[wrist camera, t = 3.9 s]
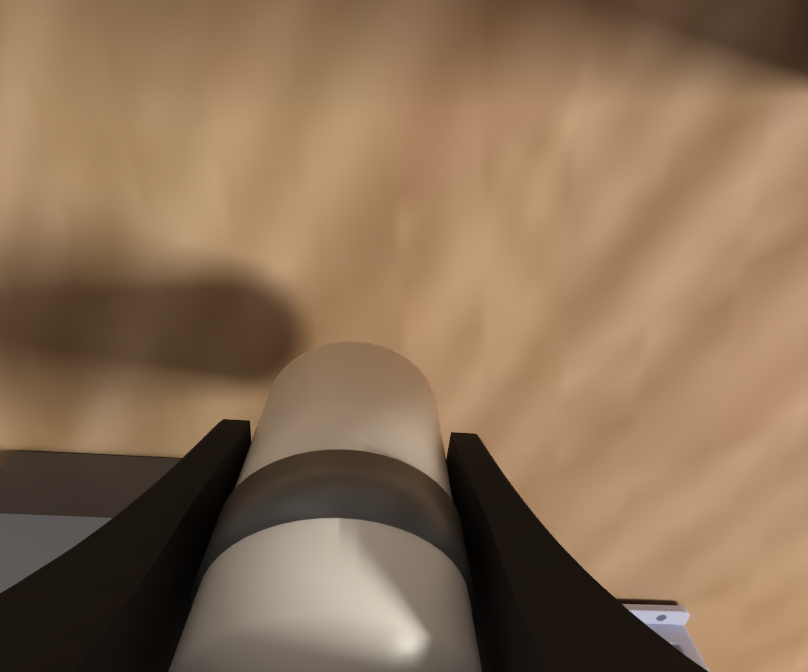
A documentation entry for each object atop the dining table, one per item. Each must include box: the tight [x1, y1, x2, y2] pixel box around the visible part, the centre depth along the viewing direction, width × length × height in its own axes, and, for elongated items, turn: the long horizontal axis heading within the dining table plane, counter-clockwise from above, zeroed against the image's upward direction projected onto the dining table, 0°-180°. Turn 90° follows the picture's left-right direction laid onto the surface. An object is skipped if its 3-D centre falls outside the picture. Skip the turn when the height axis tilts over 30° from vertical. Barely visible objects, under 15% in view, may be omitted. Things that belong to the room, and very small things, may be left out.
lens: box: [168, 342, 482, 672], centre depth 10 cm, size 5×5×7 cm
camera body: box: [0, 451, 181, 593], centre depth 20 cm, size 18×12×4 cm, turn 84°
